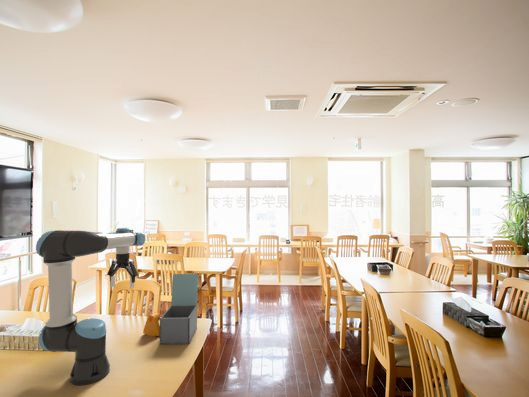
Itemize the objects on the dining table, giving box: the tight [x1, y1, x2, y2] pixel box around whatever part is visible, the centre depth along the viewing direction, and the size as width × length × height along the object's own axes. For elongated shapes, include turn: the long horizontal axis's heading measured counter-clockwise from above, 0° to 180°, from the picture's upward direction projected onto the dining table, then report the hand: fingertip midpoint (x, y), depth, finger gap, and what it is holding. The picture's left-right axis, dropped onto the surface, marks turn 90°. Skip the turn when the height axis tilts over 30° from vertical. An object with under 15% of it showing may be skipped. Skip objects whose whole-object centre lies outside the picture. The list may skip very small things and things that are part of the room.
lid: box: [170, 273, 199, 306], centre depth 176 cm, size 19×16×1 cm
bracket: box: [142, 312, 161, 338], centre depth 167 cm, size 11×7×12 cm, turn 71°
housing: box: [159, 304, 198, 346], centre depth 164 cm, size 20×16×14 cm
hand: (122, 287), depth 174 cm, fingers open, 13 cm apart
